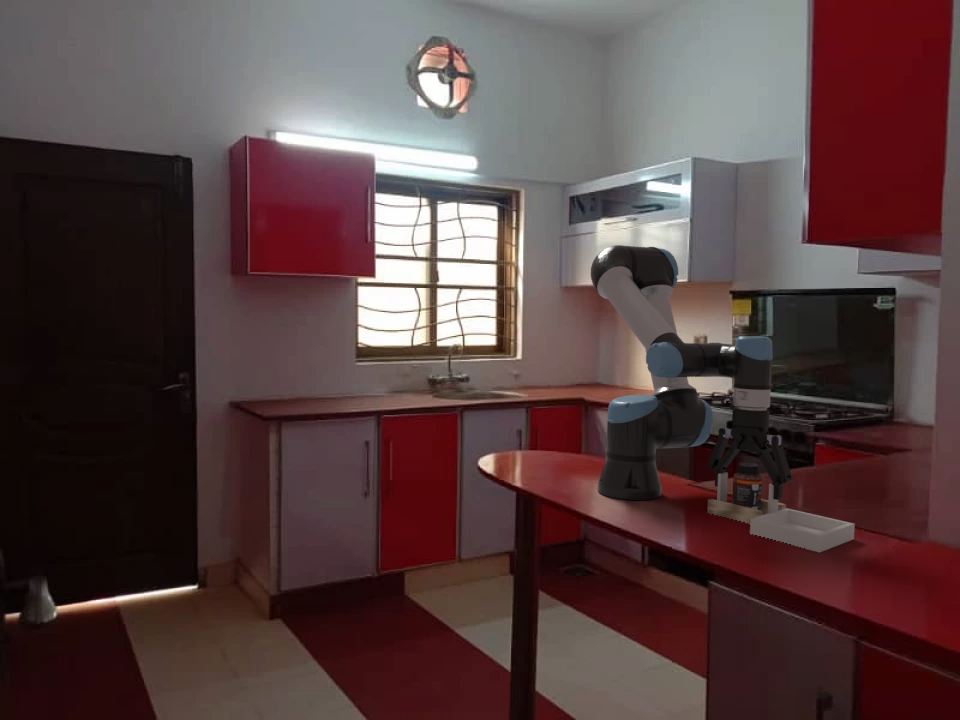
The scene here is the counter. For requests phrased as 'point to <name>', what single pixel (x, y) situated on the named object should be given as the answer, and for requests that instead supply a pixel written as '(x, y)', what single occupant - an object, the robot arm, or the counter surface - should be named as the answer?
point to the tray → (802, 529)
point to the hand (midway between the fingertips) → (746, 507)
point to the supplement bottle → (747, 486)
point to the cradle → (738, 510)
